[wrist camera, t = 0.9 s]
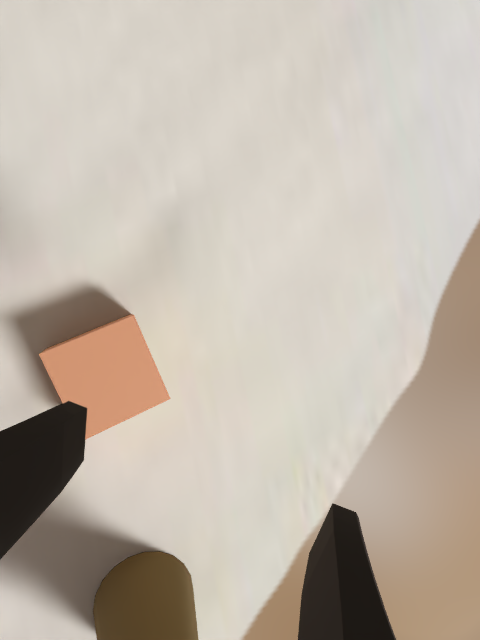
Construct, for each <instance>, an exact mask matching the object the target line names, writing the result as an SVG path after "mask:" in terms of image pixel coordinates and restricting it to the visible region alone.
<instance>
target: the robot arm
mask: <svg viewBox="0 0 480 640" xmlns="http://www.w3.org/2000/svg"><path fill="white" fill-rule="evenodd" d="M86 421H87V408H86V407H83V406H81V405H78V404H76V403H73V402H71V401H67V402H65V403H63V404H60V405H58V406H56V407H54V408H51V409H49V410H47V411H45V412H43V413H40V414H38V415H36V416H34V417H32V418H29V419H27V420H25V421H23V422H21V423H18V424H16V425H14V426H12V427H9V428H7V429H5V430H2V431H0V559H1V558H2V557H3V556H4V555H5V554H6V553H7V551H8V550H9V549H10V548H11V547H12V546H13V545H14V544H15V543H16V542H17V540H18V539H19V538H20V537H21V536H22V535H23V534H24V533H25V532H26V531H27V529H28V528H29V527H30V526H31V525H32V524H33V523H34V522H35V521H36V520H37V518H38V517H39V516H40V515H41V514H42V513H43V512H44V511H45V510H46V508H47V507H48V506H49V505H50V504H51V503H52V502H53V501H54V499H55V498H56V497H57V496H58V495H59V494H60V493H61V491H62V490H63V489H64V487H65V486H66V485H67V483H68V482H69V481H70V479H71V478H72V476H73V475H74V474H75V472H76V471H77V469H78V468H79V466H80V465H81V463H82V462H83V461H84V449H85V435H86ZM301 598H302V599H301V609H300V621H299V634H298V640H396V638H395V636H394V633H393V630H392V628H391V625H390V622H389V619H388V616H387V614H386V611H385V608H384V605H383V602H382V598H381V595H380V592H379V590H378V587H377V583H376V580H375V577H374V574H373V571H372V567H371V564H370V560H369V557H368V553H367V550H366V546H365V542H364V539H363V535H362V531H361V527H360V522H359V518H358V516H357V514H356V512H354V511H351V510H348V509H346V508H343V507H341V506H338V505H336V504H332V506H331V508H330V510H329V512H328V514H327V516H326V519H325V521H324V523H323V525H322V527H321V529H320V531H319V534H318V536H317V538H316V540H315V542H314V544H313V546H312V549H311V551H310V553H309V558H308V564H307V569H306V574H305V579H304V585H303V590H302V597H301Z"/></svg>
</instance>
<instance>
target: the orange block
mask: <svg viewBox="0 0 480 640" xmlns="http://www.w3.org/2000/svg"><path fill="white" fill-rule="evenodd" d="M39 355H40V358H41V360H42V362H43V364H44V366H45V368H46V370H47V372H48V374H49V376H50V378H51V380H52V382H53V384H54V386H55V389H56V391H57V393H58V395H59V397H60V399H61V401H62V403H65V402H67V401H71V402H73V403H76V404H78V405H81V406H83V407H86V408H87V421H86V435H85V439H87V438H89V437H91V436H94V435H96V434H98V433H100V432H102V431H104V430H106V429H108V428H110V427H112V426H114V425H117V424H119V423H121V422H123V421H125V420H127V419H129V418H131V417H133V416H135V415H137V414H139V413H142V412H144V411H146V410H148V409H150V408H152V407H154V406H156V405H158V404H160V403H162V402H165V401H167V400H169V399H170V397H169V394H168V392H167V390H166V388H165V385H164V383H163V381H162V378H161V376H160V374H159V372H158V369H157V367H156V365H155V362H154V360H153V358H152V356H151V353H150V351H149V349H148V346H147V344H146V342H145V340H144V337H143V335H142V333H141V330H140V328H139V326H138V324H137V321H136V319H135V317H134V315H132V314H130V315H127V316H125V317H123V318H120V319H118V320H115V321H113V322H110V323H108V324H105V325H103V326H100V327H98V328H96V329H93V330H91V331H88V332H86V333H83V334H81V335H78V336H76V337H73V338H71V339H69V340H66V341H64V342H61V343H59V344H56V345H54V346H51V347H49V348H47V349H45V350H44V351H42V352H41V353H40V354H39Z"/></svg>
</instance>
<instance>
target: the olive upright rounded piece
mask: <svg viewBox="0 0 480 640" xmlns="http://www.w3.org/2000/svg"><path fill="white" fill-rule="evenodd" d="M93 615H94V621H95V628H96V635H97V640H198V632H197V622H196V612H195V602H194V593H193V585H192V580H191V575H190V573H189V572H188V570H187V568H186V566H185V565H184V563H182V562H181V561H180V560H178V559H177V558H176V557H174V556H173V555H170V554H166V553H163V552H160V551H158V552H143V553H140V554H137V555H134V556H131V557H128V558H127V559H125V560H124V561H122V562H121V563H119V564H118V565H117V566H115V567H114V568H113V569H112V570H111V571H110V572H109V574H108V575H107V576H106V577H105V578H104V579H103V581H102V583H101V585H100V587H99V589H98V591H97V593H96V595H95V601H94V608H93Z"/></svg>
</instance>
